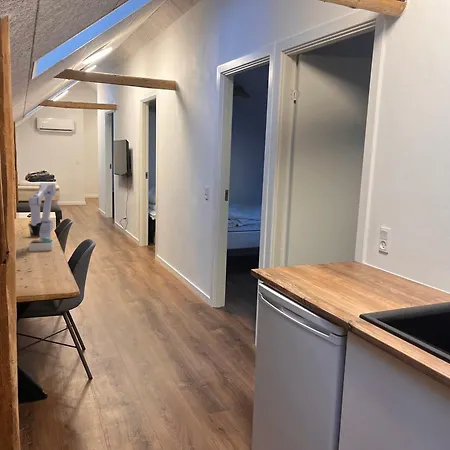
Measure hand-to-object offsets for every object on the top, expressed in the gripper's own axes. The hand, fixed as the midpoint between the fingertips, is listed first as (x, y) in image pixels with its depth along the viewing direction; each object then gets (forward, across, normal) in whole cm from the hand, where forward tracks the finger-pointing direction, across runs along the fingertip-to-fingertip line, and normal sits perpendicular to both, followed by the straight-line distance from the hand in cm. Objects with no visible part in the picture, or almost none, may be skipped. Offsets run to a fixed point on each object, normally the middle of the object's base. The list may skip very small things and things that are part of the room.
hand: (36, 234), depth 299 cm
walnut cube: (+9, 0, 0) cm, 9 cm away
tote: (+10, 0, +3) cm, 10 cm away
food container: (+10, -50, -7) cm, 51 cm away
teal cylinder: (+9, 0, +6) cm, 11 cm away
